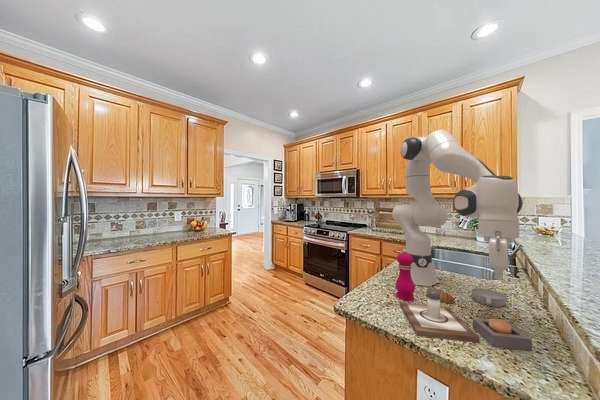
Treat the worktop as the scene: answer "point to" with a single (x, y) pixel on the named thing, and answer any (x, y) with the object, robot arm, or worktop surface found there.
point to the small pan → (489, 297)
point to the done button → (500, 326)
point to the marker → (433, 303)
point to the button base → (502, 336)
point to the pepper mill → (405, 277)
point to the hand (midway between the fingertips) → (498, 278)
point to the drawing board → (438, 323)
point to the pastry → (445, 297)
